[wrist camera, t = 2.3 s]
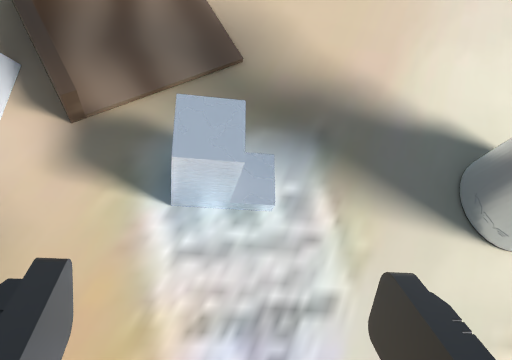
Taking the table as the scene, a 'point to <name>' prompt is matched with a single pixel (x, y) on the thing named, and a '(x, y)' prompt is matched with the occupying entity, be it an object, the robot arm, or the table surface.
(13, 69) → the z bracket
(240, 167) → the aluminium bracket
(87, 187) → the table surface
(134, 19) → the walnut corner tray
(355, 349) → the table surface
